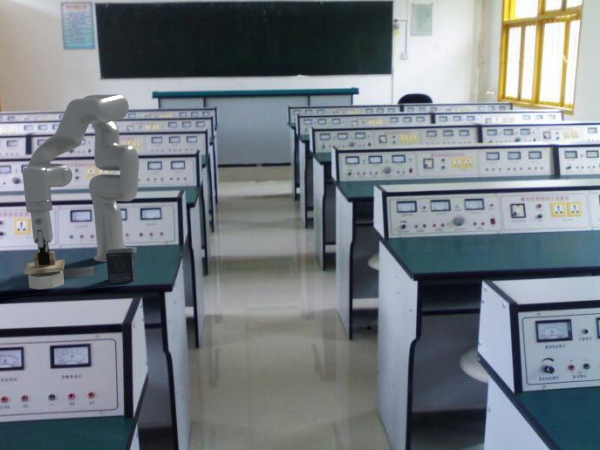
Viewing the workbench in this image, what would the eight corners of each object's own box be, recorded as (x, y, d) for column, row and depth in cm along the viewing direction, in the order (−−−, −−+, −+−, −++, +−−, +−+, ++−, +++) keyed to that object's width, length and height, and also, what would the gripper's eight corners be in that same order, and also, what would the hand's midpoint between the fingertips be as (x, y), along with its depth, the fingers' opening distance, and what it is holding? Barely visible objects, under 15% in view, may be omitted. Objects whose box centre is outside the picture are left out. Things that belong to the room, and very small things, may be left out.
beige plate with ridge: (64, 262, 203) (63, 247, 202) (62, 271, 193) (61, 254, 192) (28, 265, 200) (27, 250, 199) (24, 274, 190) (23, 258, 189)
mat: (94, 267, 218) (94, 266, 218) (93, 276, 207) (93, 275, 207) (57, 271, 215) (57, 269, 215) (55, 280, 204) (55, 278, 204)
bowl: (64, 280, 204) (63, 267, 203) (62, 288, 194) (61, 274, 193) (32, 283, 201) (30, 270, 200) (28, 292, 191) (27, 278, 190)
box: (135, 278, 204) (132, 247, 202) (133, 283, 199) (131, 251, 197) (110, 280, 203) (108, 248, 201) (108, 285, 197) (105, 253, 195)
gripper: (49, 209, 186) (55, 268, 190) (53, 201, 201) (59, 256, 205) (22, 211, 184) (29, 270, 187) (29, 203, 199) (34, 258, 202)
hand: (44, 262), depth 196 cm, fingers closed on beige plate with ridge
